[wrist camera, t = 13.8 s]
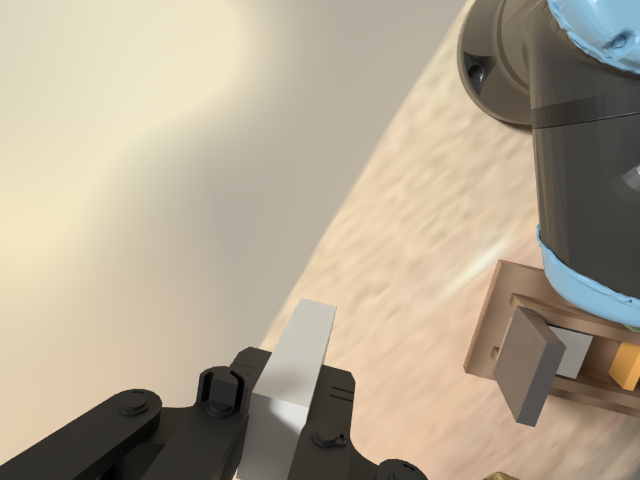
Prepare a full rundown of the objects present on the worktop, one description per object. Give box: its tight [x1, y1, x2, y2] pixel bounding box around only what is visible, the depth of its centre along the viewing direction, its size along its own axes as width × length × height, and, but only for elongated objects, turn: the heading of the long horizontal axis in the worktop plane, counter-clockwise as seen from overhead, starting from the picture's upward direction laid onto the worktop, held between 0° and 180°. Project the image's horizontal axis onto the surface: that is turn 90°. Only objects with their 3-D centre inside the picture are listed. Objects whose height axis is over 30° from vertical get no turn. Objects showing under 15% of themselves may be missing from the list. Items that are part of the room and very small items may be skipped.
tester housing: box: [463, 260, 640, 418], centre depth 44 cm, size 24×14×8 cm, turn 79°
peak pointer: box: [608, 342, 640, 391], centre depth 43 cm, size 1×8×5 cm, turn 169°
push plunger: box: [493, 306, 593, 427], centre depth 41 cm, size 8×8×12 cm
